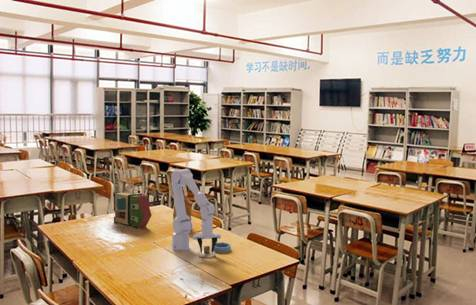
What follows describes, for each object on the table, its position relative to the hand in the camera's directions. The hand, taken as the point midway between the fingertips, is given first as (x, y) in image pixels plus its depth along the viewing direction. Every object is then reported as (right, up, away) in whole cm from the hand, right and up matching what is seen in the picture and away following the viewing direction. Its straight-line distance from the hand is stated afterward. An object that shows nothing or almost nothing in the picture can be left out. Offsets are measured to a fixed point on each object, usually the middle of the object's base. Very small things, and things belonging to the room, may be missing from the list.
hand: (206, 251), depth 231 cm
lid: (0, -2, 0) cm, 2 cm away
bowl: (+7, -1, +9) cm, 12 cm away
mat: (0, -2, 0) cm, 2 cm away
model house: (-54, +5, +53) cm, 75 cm away
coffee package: (-20, +4, +53) cm, 57 cm away
